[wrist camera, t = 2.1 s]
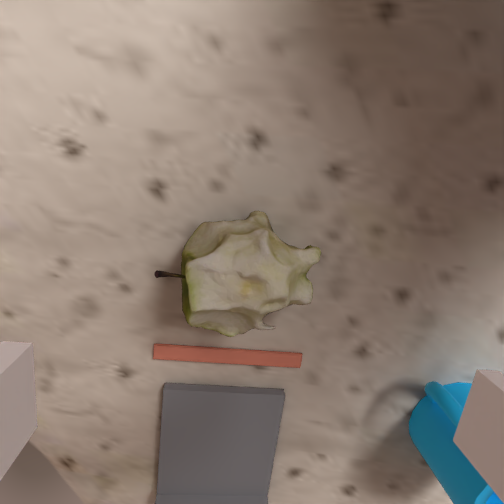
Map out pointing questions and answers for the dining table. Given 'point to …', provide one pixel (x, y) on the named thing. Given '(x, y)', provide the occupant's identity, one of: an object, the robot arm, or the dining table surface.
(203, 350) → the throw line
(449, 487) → the mug
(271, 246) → the fruit
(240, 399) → the mat
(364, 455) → the dining table surface
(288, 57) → the dining table surface
